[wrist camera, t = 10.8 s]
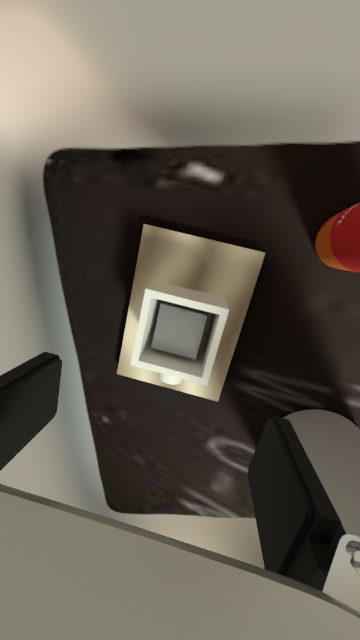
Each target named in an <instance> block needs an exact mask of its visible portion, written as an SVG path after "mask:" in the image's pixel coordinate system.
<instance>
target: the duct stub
mask: <svg viewBox="0 0 360 640" xmlns="http://www.w3.org/2000/svg"><path fill="white" fill-rule="evenodd" d="M207 316H208V312H206V311H202V310H198V309H194V308H190V307H187V306H183V305H179V304H175V303H171V302H167V301H163V302H162V303H161V304H160V309H159V314H158V318H157V323H156V327H155V332H154V337H153V341H152V346H151V348H154V349H158V350H162V351H166V352H169V353H173V354H177V355H181V356H184V357H188V358H192V359H196V356H197V353H198V349H199V345H200V342H201V338H202V334H203V331H204V327H205V323H206V320H207Z"/></svg>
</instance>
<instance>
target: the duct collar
mask: <svg viewBox="0 0 360 640" xmlns="http://www.w3.org/2000/svg"><path fill="white" fill-rule="evenodd" d="M163 301H167V302H171V303H175V304H179V305H183V306H187V307H190V308H194V309H198V310H202V311H206V312H210V313H213V315H212V319H211V323H210V326H209V330H208V333H207V337H206V340H205V344H204V348H203V349H202V348H199V349H198V353H197V356H196V359H192V358H188V357H184V356H181V355H177V354H173V353H169V352H166V351H162V350H158V349H154V348H151V346H152V341H153V337H154V332H155V327H156V323H157V318H158V314H159V309H160V304H161V303H162V302H163ZM228 313H229V308H228V306H227V304H226V302H225V300H224V297H221V296H217V295H213V294H209V293H205V292H201V291H197V290H193V289H189V288H185V287H181V286H177V285H172V284H168V283H164V282H160V283H158V284H155V285H153V286H150V287H148V288H146V289H145V293H144V298H143V303H142V308H141V314H140V319H139V324H138V329H137V334H136V339H135V345H134V350H133V355H132V360H131V365H133V366H136V367H140V368H144V369H147V370H151V371H155V372H158V378H159V379H160V380H161V381H162V382H164V383H166V384H171V385H177V384H180V383H181V382H182V379H184V380H188V381H192V382H196V383H199V384H203V385H207V383H208V380H209V377H210V373H211V370H212V367H213V363H214V360H215V357H216V353H217V350H218V346H219V343H220V340H221V336H222V333H223V330H224V326H225V323H226V320H227V316H228Z"/></svg>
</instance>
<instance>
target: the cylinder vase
mask: <svg viewBox="0 0 360 640" xmlns="http://www.w3.org/2000/svg"><path fill="white" fill-rule="evenodd" d="M283 418H284V419H288V420H289V421H290V422H291V424H292V426H293V428H294V430H295V432H296V434H297V436H298V438H299V440H300V442H301V444H302V446H303V448H304V450H305V452H306V454H307V456H308V458H309V460H310V461H311V463H312V465H313V467H314V469H315V471H316V473H317V475H318V477H319V479H320V481H321V483H322V485H323V487H324V489H325V491H326V493H327V495H328V497H329V499H330V501H331V502H332V504H333V506H334V508H335V510H336V512H337V514H338V516H339V518H340V520H341V522H342V523H341V524H342V526H343V528H344V530H345V532H346V534H351V535H355V536H358V537H360V429H359V428H358V427H357V426H356V425H355V424H354V423H352V422H351V421H350V420H348V419H347V418H345V417H343V416H341V415H339V414H336V413H334V412H330V411H326V410H317V409H311V410H302V411H298V412H294V413H291V414H289V415H287V416H285V417H283Z"/></svg>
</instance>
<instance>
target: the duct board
mask: <svg viewBox="0 0 360 640" xmlns="http://www.w3.org/2000/svg"><path fill="white" fill-rule="evenodd" d="M264 256H265V253H264V252H260V251H256V250H252V249H247V248H243V247H239V246H235V245H231V244H226V243H222V242H218V241H214V240H210V239H205V238H201V237H197V236H193V235H189V234H184V233H180V232H176V231H172V230H168V229H163V228H159V227H155V226H151V225H147V224H144V225H143V231H142V237H141V242H140V248H139V253H138V259H137V265H136V270H135V276H134V281H133V287H132V292H131V298H130V304H129V309H128V315H127V320H126V326H125V331H124V337H123V343H122V348H121V354H120V359H119V365H118V370H117V374H119V375H123V376H126V377H130V378H134V379H137V380H141V381H145V382H148V383H152V384H156V385H159V386H163V387H167V388H170V389H174V390H178V391H181V392H185V393H189V394H192V395H196V396H199V397H203V398H207V399H210V400H214V401H218V400H219V397H220V393H221V390H222V387H223V384H224V381H225V378H226V375H227V372H228V368H229V365H230V362H231V359H232V356H233V353H234V350H235V347H236V343H237V340H238V337H239V334H240V331H241V328H242V325H243V322H244V318H245V315H246V312H247V309H248V306H249V303H250V300H251V297H252V293H253V290H254V287H255V284H256V281H257V278H258V275H259V272H260V269H261V265H262V262H263V259H264ZM160 282H164V283H168V284H172V285H177V286H181V287H185V288H189V289H193V290H197V291H201V292H205V293H209V294H213V295H217V296H221V297H224V300H225V302H226V304H227V306H228V308H229V313H228V316H227V320H226V323H225V326H224V330H223V333H222V336H221V340H220V343H219V346H218V350H217V353H216V357H215V360H214V363H213V367H212V370H211V373H210V377H209V380H208V383H207V385H203V384H199V383H196V382H192V381H188V380H184V379H182V382H181V383H180V384H177V385H171V384H166V383H164V382H162V381H161V380H160V379H159V378H158V372H155V371H151V370H147V369H144V368H140V367H136V366H133V365H131V360H132V355H133V350H134V345H135V339H136V334H137V329H138V324H139V319H140V314H141V308H142V303H143V298H144V293H145V289H146V288H148V287H150V286H153V285H155V284H158V283H160ZM212 315H213V313H210V312H208V316H207V320H206V323H205V327H204V331H203V334H202V338H201V342H200V345H199V348H202V349H203V348H204V344H205V340H206V337H207V333H208V330H209V326H210V323H211V319H212Z"/></svg>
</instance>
